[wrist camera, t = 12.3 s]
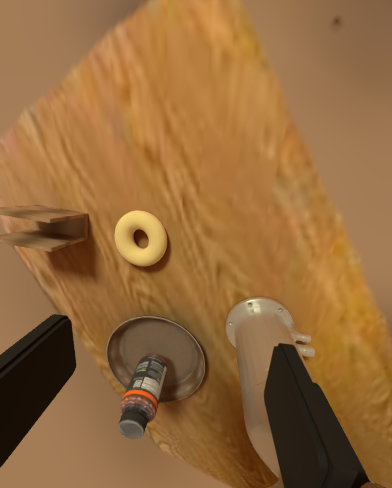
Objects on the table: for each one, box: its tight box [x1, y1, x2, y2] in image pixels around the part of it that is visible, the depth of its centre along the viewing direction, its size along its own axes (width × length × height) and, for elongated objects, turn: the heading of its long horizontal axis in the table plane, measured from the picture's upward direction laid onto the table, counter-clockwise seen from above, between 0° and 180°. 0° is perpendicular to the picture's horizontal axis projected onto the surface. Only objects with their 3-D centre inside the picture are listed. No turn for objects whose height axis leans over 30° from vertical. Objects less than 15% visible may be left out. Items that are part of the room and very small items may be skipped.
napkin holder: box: [0, 205, 88, 252], centre depth 34 cm, size 10×5×9 cm, turn 82°
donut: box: [115, 211, 167, 266], centre depth 35 cm, size 10×5×9 cm
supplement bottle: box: [118, 353, 168, 439], centre depth 34 cm, size 6×6×11 cm
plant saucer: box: [106, 316, 205, 403], centre depth 42 cm, size 21×21×3 cm
